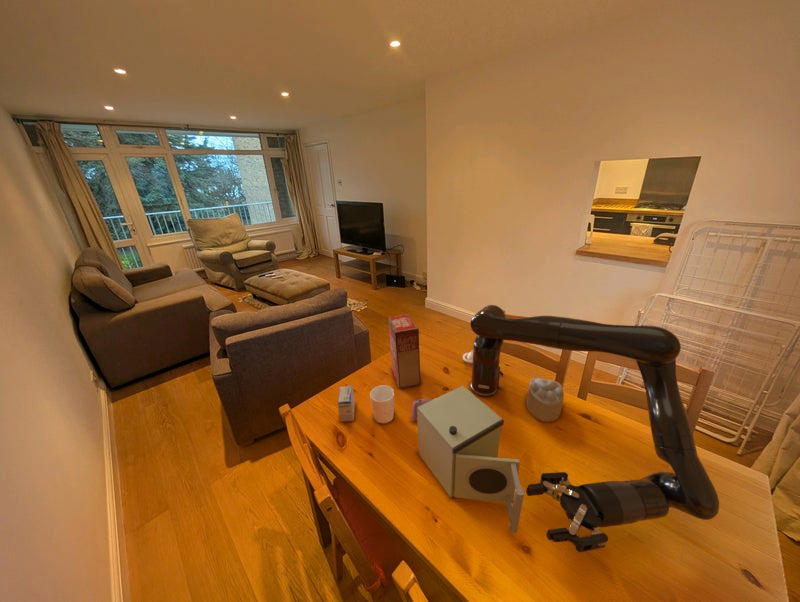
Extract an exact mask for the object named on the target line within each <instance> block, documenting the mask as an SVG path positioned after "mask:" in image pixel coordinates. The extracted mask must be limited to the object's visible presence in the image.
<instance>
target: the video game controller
mask: <svg viewBox="0 0 800 602" xmlns="http://www.w3.org/2000/svg"><path fill="white" fill-rule="evenodd" d="M431 400H433V399H432V398H420V399H416V400H414V401H413V403H412V405H411V420H412V422H413V423H414V422H415V421H416V419H417V407H419V406H421V405H423V404H425V403H427V402H429V401H431Z"/></svg>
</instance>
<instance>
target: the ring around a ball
mask: <svg viewBox="0 0 800 602" xmlns="http://www.w3.org/2000/svg"><path fill="white" fill-rule="evenodd" d="M462 360H463V361H464V362H465V363H467V364H471V365H472V363H473V349H471V351H470V352H465V353H464V354H463V355H462Z"/></svg>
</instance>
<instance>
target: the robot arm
mask: <svg viewBox="0 0 800 602" xmlns="http://www.w3.org/2000/svg"><path fill="white" fill-rule="evenodd" d="M504 311H505V310H503V309H502V308H501V307H500V306H498V305H495V304H488V305H485V306H484V307H482V308H481V309H480V310H478V311H477V312H476V313H475V314H474V315H473V316H472V318H471V319H470V322H469V323H470V325H469V326H470V329H471V331H472V332H473V333H474V334H475V335H476V336H475V338H474V341H473V346H472V348H473V349H472V350H473V363H472V364H471V366H472V367H471V379H470V381H471V382H470V389H471V391H472V393H473V394H476V395H478V396H481V397H492V396H494V395H495V394H496V393H497V391H498V389H499V385H500V377H501V376H504V375H505V374H504V373H503V372H502V371H501V366H500V359H501V350H502V347H503V344H504V341H510V342H511V341H512V342H519V343H524V344H530V345H536V346H541V347H546V348H551V349H556V350H563V351H570V352H589V353H590V352H595V353H606V354H610V355H616V356H620V357H624V358H628V359H632V360H635V362H636V365H637V368H638V370H639V372H640V375H641V378H642V382H643V385H644V386H643V387H644V391H645V395H646V403H647V411H648V420H649V427H650V431H651V437H652V443H653V447H654V451H655V454H656V456H657V458H659V459H660V460H662V461H663V462H665V463H666V464H668V465H669V466H670V467H671V469H672V471H673V472H672V471H671V472H670V471H657V472H653V473H651V474H648V475H646V476H644V477H642V478H640V479H630V480H608V481H599V482H593V483H584V484H580V485H574V484H572V483H571V482H570V480H569V473H567V472H566V471H561V472H560V471H559V472H558V471H557V472H542V473H541V475H540V480H539V482H538V483H529V484H528V485H527V487H526V489H525V493H526V495H527V496H528V497H533V496H540V495H544V494H545V495H547V496H550V497H551V498H552V499H553V500H554V501H557V502H559V505H560V507H561V509H563V511H564V512H565V515H566V518H567V520H570V521H571V523H570V526H569V527H568V528H567V527H558V528H550V529H547V531H546V537H547V539H548V541H551V542H552V543H564V542H570V543H571V544H572V545H573V546H574V548H575V550H576V551H577V552H578V553H585V552H591V551H593V550H599V549H603V548H606V546H607V544H608V541H609V536H608V535H607V534H606V533H605V532H602V531H601V529H600V528H607V527H616V526H617V527H618V526H623V525H630V524H635V523H639V522H643V521H651V520H659V519H662V518H665V517H666V516H668V514H670V513H669V512H670V508H671V509H676V510H677V511H680V512H682V513H685V514H687V515H690V516H692V517H694V518H696V519H699V520H703V521H710V520H713V519H715V518H716V517H717V515H718V514H719V511H720V499H719V495H718V492H717V490H716V488H715V485H714V484H713V482H712V480H711V478H710V476H709V473H708V472H707V471H706V468H705V466H704V464H703V463H702V462H701V461H702V460H700V457H699V455H698V452H697V451H698V450H697V446H696V442H695V438H694V433H693V430H692V425H691V421H690V419H689V416H688V412H687V411H686V407H685V405H684V402H683V398H682V396H681V392H680V388H679V384H678V377H677V358H678V357H679V356H680V353H681V349H682V345H681V342H680V340H679V338H678V336H676V335H675V333H673V332H672V331H670V330H668V329H666V328H664V327H660V326H656V325H629V324H628V325H627V324H626V325H625V324H609V323H603V322H602V323H601V322H596V321H592V320H586V319H579V318H573V317H566V316H557V315H536V316H535V315H534V316H528V317H520V318H508V317H506V313H505V312H504ZM559 493H560V494H561V495H560V494H559ZM581 527H583V528H585V529H586V530H590V531H592V532H591V534H590V535H585V536H579V534H578V533H579V530H580V529H581Z"/></svg>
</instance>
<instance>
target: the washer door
mask: <svg viewBox="0 0 800 602" xmlns="http://www.w3.org/2000/svg"><path fill="white" fill-rule="evenodd" d="M520 465H521V462H520V459H517V458H507V457H498V458H496V457H484V456H472V455H460V454H456V465H455V490H454V496H453V497H454V498H457V499H468V500H476V501H486V502H495V503H506V510H507V516H508V521H509V528H508V529H509V531H510V533H511V534H517V532H518V528H519V523H520V517H521V513H522V507H523V502H524V497H525V490H524V489H523V488H522V486H521V481H520V478H519V470H520Z"/></svg>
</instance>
